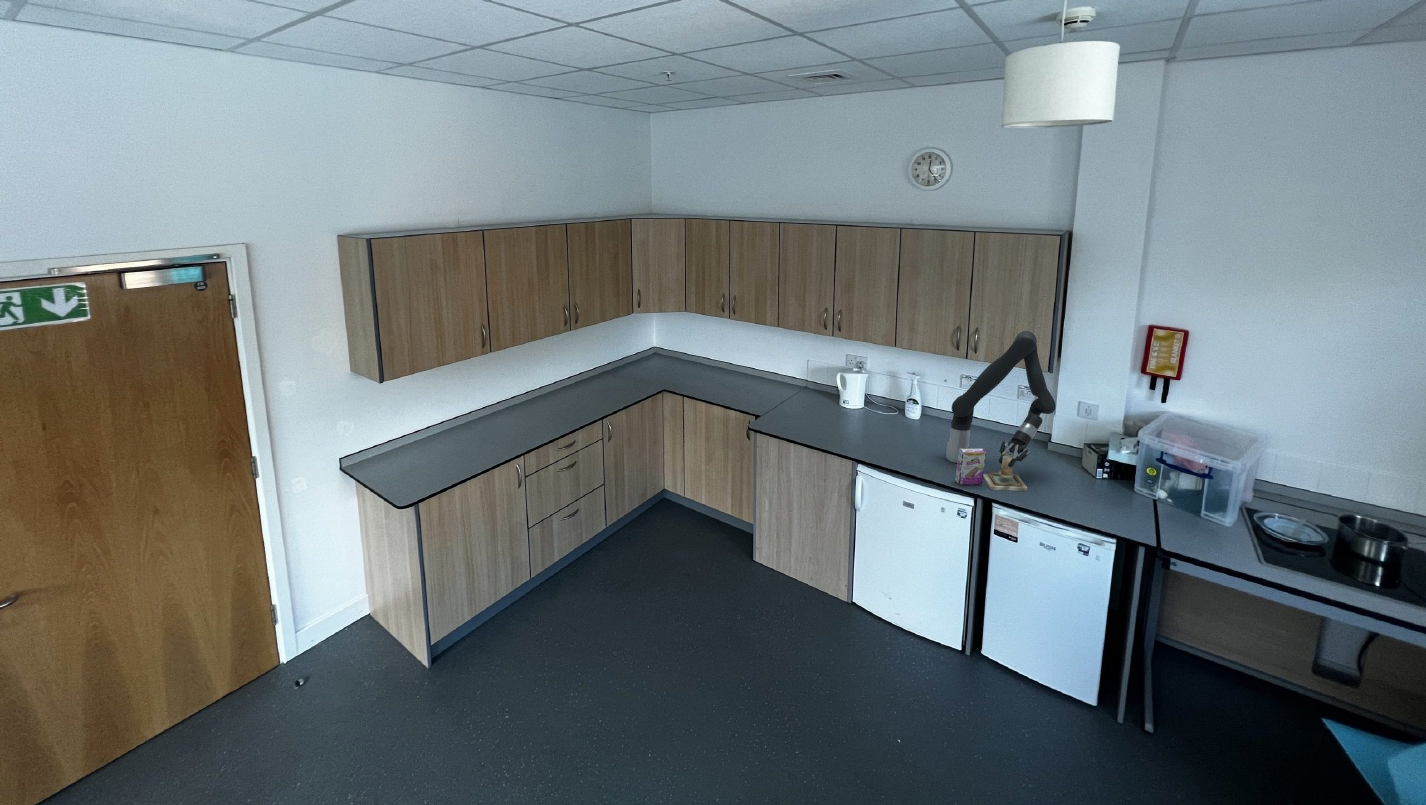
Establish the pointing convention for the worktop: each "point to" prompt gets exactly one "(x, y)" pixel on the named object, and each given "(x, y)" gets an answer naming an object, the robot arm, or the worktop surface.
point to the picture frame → (1004, 482)
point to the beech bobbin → (1006, 467)
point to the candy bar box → (970, 466)
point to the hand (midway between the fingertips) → (1004, 464)
